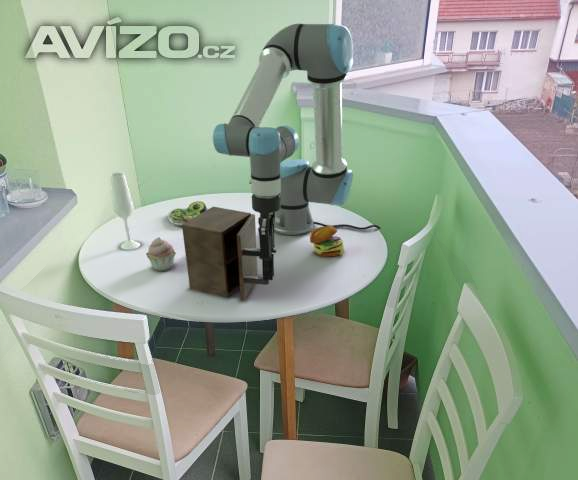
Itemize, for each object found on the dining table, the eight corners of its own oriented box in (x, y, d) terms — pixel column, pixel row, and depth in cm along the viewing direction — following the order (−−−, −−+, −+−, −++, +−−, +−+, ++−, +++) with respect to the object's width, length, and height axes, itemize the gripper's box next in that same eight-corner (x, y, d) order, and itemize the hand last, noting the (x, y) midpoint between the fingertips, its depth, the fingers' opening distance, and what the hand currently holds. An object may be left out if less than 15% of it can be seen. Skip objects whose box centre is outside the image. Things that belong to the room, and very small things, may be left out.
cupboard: (254, 276, 176) (251, 213, 164) (227, 298, 165) (221, 232, 153) (218, 268, 181) (213, 206, 169) (189, 289, 169) (181, 224, 157)
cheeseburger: (340, 260, 184) (334, 230, 179) (310, 263, 189) (303, 234, 183) (348, 247, 192) (342, 219, 186) (319, 250, 196) (312, 223, 191)
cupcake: (182, 268, 181) (179, 238, 175) (155, 276, 176) (150, 245, 170) (170, 258, 187) (165, 229, 181) (143, 265, 183) (138, 236, 177)
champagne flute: (120, 250, 192) (105, 178, 178) (120, 242, 198) (106, 172, 183) (140, 248, 193) (127, 177, 179) (140, 241, 199) (128, 170, 184)
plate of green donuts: (218, 228, 207) (217, 216, 205) (168, 232, 205) (167, 219, 202) (214, 210, 223) (213, 198, 220) (168, 213, 220) (166, 201, 217)
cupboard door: (279, 278, 174) (277, 215, 163) (267, 303, 162) (265, 237, 150) (254, 276, 176) (251, 213, 164) (240, 300, 163) (236, 235, 151)
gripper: (256, 184, 152) (259, 265, 166) (246, 203, 140) (250, 288, 154) (284, 185, 151) (285, 266, 165) (276, 204, 140) (277, 290, 154)
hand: (268, 277), depth 160 cm, fingers closed on cupboard door, 2 cm apart
